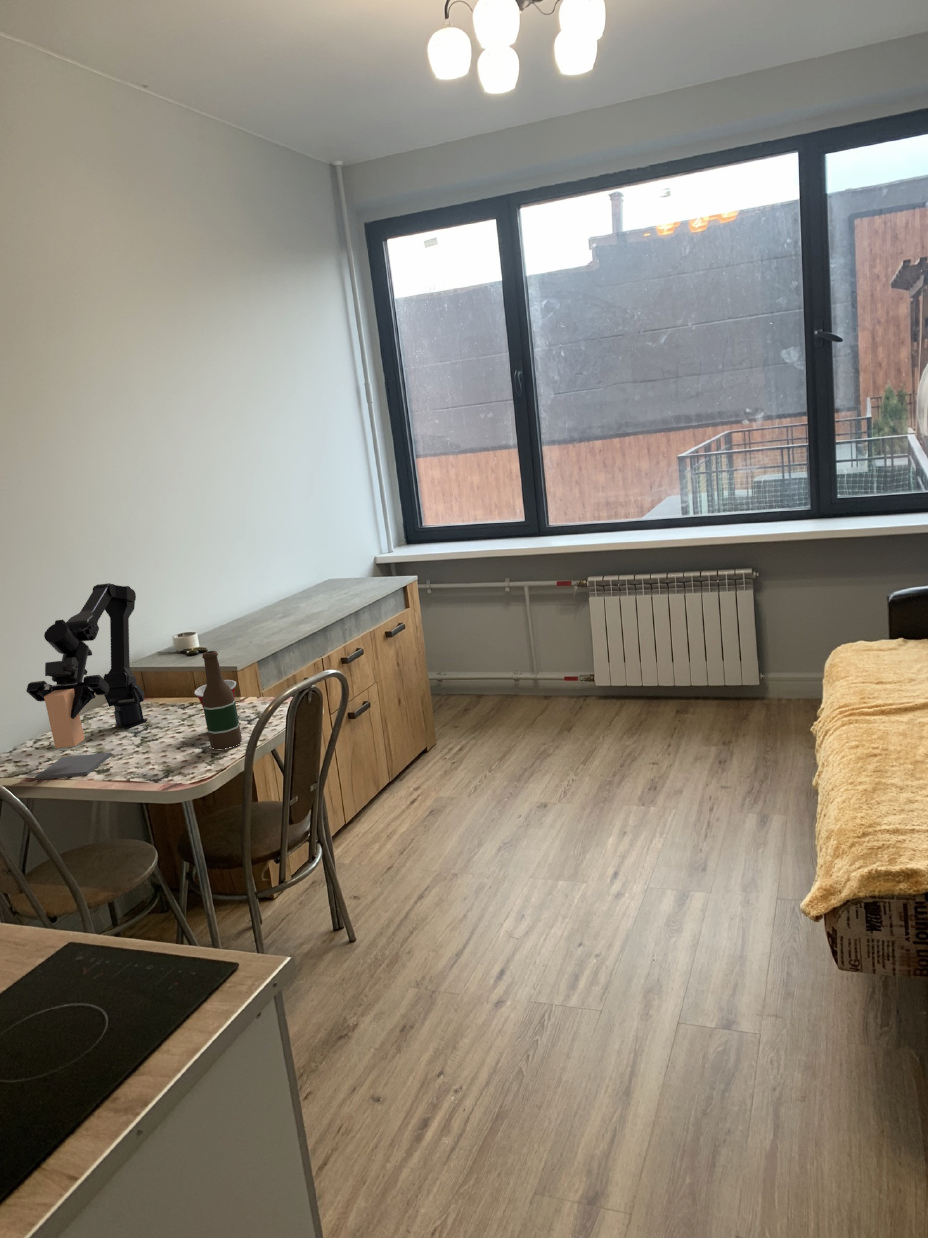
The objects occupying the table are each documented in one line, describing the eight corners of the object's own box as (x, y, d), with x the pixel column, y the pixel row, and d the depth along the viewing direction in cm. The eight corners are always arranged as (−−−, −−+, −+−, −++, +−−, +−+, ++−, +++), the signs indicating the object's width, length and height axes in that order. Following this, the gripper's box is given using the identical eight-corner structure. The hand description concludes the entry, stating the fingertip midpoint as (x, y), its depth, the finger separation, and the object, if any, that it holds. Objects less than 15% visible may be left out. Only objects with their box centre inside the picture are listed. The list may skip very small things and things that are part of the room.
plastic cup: (193, 736, 242) (185, 692, 239) (218, 722, 252) (210, 680, 249) (228, 737, 238) (219, 692, 235) (252, 722, 247) (244, 679, 245)
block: (65, 740, 231) (54, 690, 228) (84, 738, 230) (73, 688, 227) (55, 747, 226) (43, 696, 223) (74, 746, 225) (63, 694, 222)
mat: (62, 760, 236) (62, 757, 236) (111, 755, 235) (110, 752, 235) (35, 779, 223) (35, 776, 223) (87, 774, 222) (86, 771, 222)
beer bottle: (248, 739, 233) (231, 647, 228) (231, 751, 226) (213, 655, 221) (222, 739, 236) (205, 648, 231) (204, 751, 229) (186, 657, 224)
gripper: (21, 650, 228) (7, 707, 219) (94, 642, 226) (82, 699, 218) (44, 673, 237) (31, 728, 229) (114, 665, 235) (104, 720, 227)
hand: (61, 719), depth 225 cm, fingers closed on block, 5 cm apart
